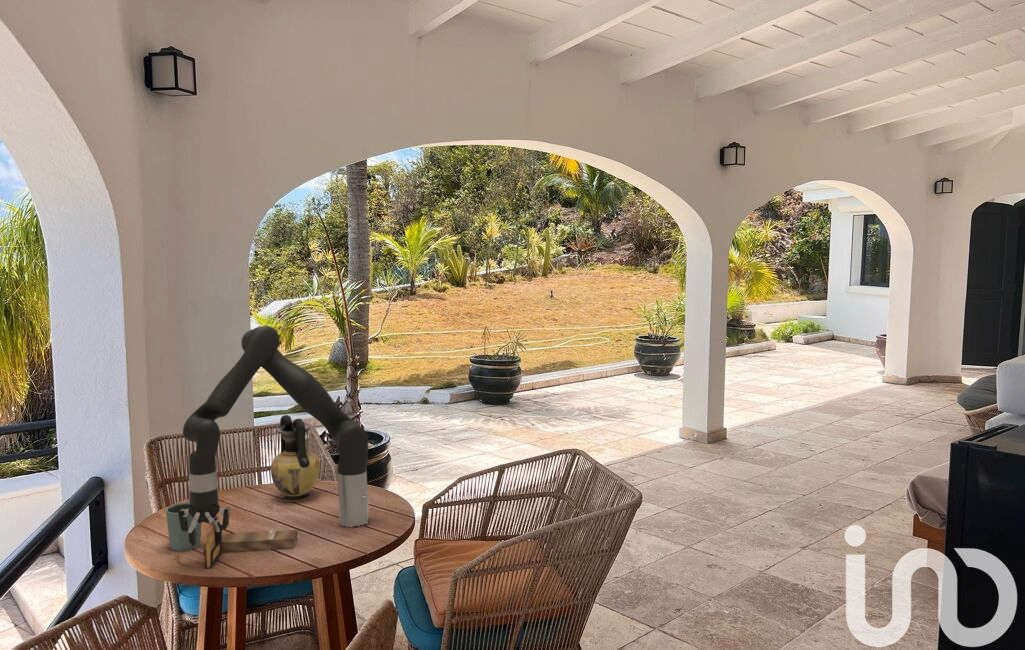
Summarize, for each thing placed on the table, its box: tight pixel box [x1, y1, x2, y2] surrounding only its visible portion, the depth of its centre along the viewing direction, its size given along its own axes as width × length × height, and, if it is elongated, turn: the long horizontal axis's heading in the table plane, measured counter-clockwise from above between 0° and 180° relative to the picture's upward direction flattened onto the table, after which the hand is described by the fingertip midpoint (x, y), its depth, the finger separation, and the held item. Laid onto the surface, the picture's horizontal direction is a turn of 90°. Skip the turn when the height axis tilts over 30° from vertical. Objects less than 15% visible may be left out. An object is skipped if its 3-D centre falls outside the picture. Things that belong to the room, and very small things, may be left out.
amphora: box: [270, 414, 321, 503], centre depth 265 cm, size 18×17×30 cm
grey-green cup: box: [165, 501, 202, 552], centre depth 224 cm, size 10×10×12 cm
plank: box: [202, 529, 299, 554], centre depth 223 cm, size 26×7×3 cm, turn 97°
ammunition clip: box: [204, 514, 223, 569], centre depth 212 cm, size 11×2×12 cm, turn 7°
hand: (205, 543), depth 212 cm, fingers open, 6 cm apart
